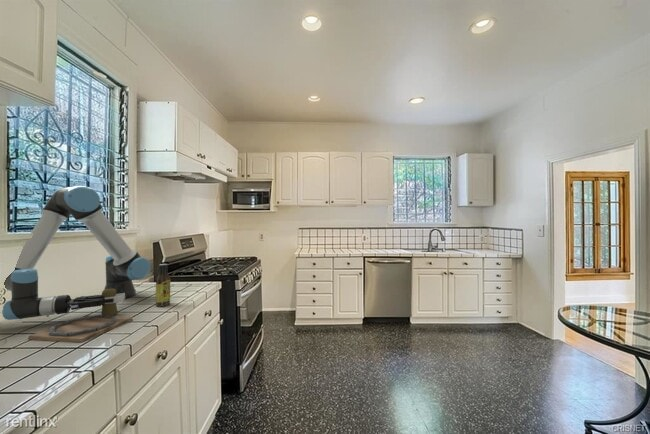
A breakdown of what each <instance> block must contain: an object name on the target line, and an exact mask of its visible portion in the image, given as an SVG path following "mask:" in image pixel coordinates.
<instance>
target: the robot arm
mask: <svg viewBox="0 0 650 434" xmlns="http://www.w3.org/2000/svg"><path fill="white" fill-rule="evenodd" d="M100 201H101V199H100V196H99V194H98V192H97V191H96V190H95V189H93V188H91V187H89V186H85V185H74V186H68V187H62V188H59V189H57V190H56V191H55V192H54V193H53V194H52V195H51V196H50V197H49V199H48V201H47V202H46V204H45V206H43V208H42V210H41V212H42V215H41V217H40V218H39V220H38V221H37V223H36V225H35V226H34V227H33V229H32V230H31V232H30V233H33V236H32V238H30V239H29V240H27V241H26V240H25V241H26V243H25V242H24V243H25V245H24V246H23V245H22V246H23V249H22V251H21V254H20V256H19V259H18V261H17V264H16V267H15V270H14V271H13V272H12V273H11V274H10V275H9V276H8V277H7V278H6V280H5V282H4V285H5V288H6V289H7V290H6V291H10V292H11V300H8V301H6V302H5V303H4V304H3V307H2V310H1V311H2V317H3V318H4V320H8V321H11V320H12V321H13V320H24V319H30V318H36V317H38V318H39V317H46V318H49V317H50V316H54V315H63V314H68V313H69V312H70V311H71V310H72V311H74V310H79V309H86V308H94V307H102V306H104V303H105V304H110V303H116V304H117V303H123V302H124V300H126V299H128V298H131V297H134V296H136V294H137V291H136V289H135V287H134V283H133V281H139V280H142V279H144V278H145V277H146V276H148V274H149V273H150V270H151V263H150V261H149V260H148V259H147V258H145V257H142V256H141V255H140V253H139V252H138V251H137V250H136V249H131V247H130V246H129V244H127V242H126V241H125V239H123V237H122V236H121V235H120V234H119V232H118V231H117V229H116V228H115V226H113V225H112V223H111V221H110V220H109V219H108V218H107V217H106V216H105V213H103V208H104V207H103V206H102V204H101V203H100ZM70 216H72V217H73V218H74V219H75V220H76V221H79V222H82V223H83V224H84V225H85V226H86V228H87V229H88V230H89V232H90V233H91V234H92V235H93V236H94V237H95V239H96V240H97V241H98V242H99V243H100V245H101V246H102V247H103V248H104V249H105V251H106V252H107V253H108V254H109V255H107V256H106V258H105V262H104V264H105V286H104V289H103V290H106V289H115V290H116V295H115V296H114V297H105V299H104V297H103V296H102V294H94V295H82V296H78V297H77V296H76V297H75V298H73V299H72V298H71V296H70V295H69V294H65V295H64V294H63V295H58V296H56V295H51V296H43V297H39V275H38V274H39V273H38V270H37V269H35V266H36V265H37V263H38V261H39V260H40V259H41V257H42V255H43V254H44V253H45V251H46V249H47V248H48V246H49V244H50V243H51V241H52V239H53V238H54V237H55V235H56V233H57V231H58V230H59V228H60V227H61V225H62V224H63V223H64V221H68V219H69V217H70Z"/></svg>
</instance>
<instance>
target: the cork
mask: <svg viewBox="0 0 650 434" xmlns="http://www.w3.org/2000/svg"><path fill="white" fill-rule="evenodd" d="M101 295H102V296H103V297H104V299H105V297H114V296H115V295H116V290H115V289H106V290H104V289H103V290H102V292H101ZM118 312H119V311H118V306H117V303H110V304H105V303H104V306H102V305H101V313H100V315H117V314H118Z"/></svg>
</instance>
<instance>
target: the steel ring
mask: <svg viewBox="0 0 650 434" xmlns="http://www.w3.org/2000/svg"><path fill="white" fill-rule="evenodd" d="M86 316H87V315H86ZM115 317H116V314H114V315H101V314H95V315H90V316H87V317H84V316H82V317H81V316H80V317H77V318H72V319H68V320H67V321H64V322H59V323H57V324H54V325H52V326H51V327H50V328H51V329H50V328H49V329H50V331H49V335H51V336H73V335H78V334H83V333H89V332H94V331H98V330H100V329H103V328H105V327H107V326H110V325H112V324H115ZM94 318H107V319H112V321H110V322H108V323H105V324H103V325H100V326H98V327H95V328H90V329H85V330H79V331H74V332H57V331H55V330H56V328H59V327H62V326H64V325H67V324H70V323H73V322H77V321H82V320H88V319H94Z"/></svg>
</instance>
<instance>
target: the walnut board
mask: <svg viewBox="0 0 650 434" xmlns="http://www.w3.org/2000/svg"><path fill="white" fill-rule="evenodd" d="M87 316H91V315H89V314H88V315H84V316H83V317H87ZM110 321H112V319H107V318H94V319H88V320H82V321H77V322H73V323H70V324H67V325H64V326H62V327H59V328H56V330H55V331H57V332H74V331H79V330H85V329H90V328H95V327H98V326H100V325H103V324H105V323H108V322H110ZM131 321H133V317H132V316H115V324H112V325H110V326H107V327H105V328H103V329H100V330H98V331H94V332H89V333H83V334H78V335H73V336H51V335H49V331H50V329H51V328H52V327H50V328H47V329H44V330H42V331H38V332H35V333H33V334H30V335H28V337H27V338H28V340H32V341H33V340H37V341H53V342H67V343H68V342H71V343H84V342H86V341H88V340H90V339H92V338H94V337H97V336H99V334H100V335H102V334H104V333H107V332H109V331H111V330H113V329H115V328H118V327H120V326H122V325H125V324H127V323H130V322H131ZM83 341H84V342H83Z"/></svg>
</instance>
